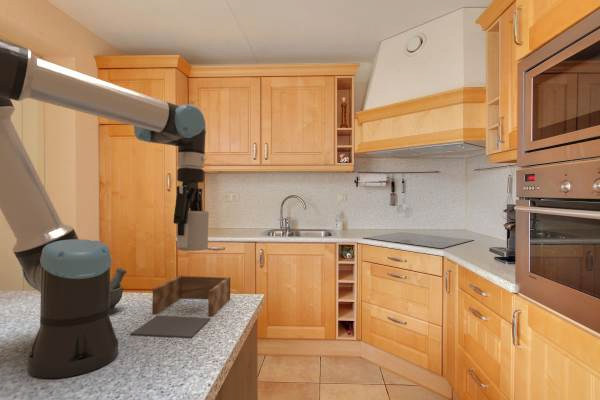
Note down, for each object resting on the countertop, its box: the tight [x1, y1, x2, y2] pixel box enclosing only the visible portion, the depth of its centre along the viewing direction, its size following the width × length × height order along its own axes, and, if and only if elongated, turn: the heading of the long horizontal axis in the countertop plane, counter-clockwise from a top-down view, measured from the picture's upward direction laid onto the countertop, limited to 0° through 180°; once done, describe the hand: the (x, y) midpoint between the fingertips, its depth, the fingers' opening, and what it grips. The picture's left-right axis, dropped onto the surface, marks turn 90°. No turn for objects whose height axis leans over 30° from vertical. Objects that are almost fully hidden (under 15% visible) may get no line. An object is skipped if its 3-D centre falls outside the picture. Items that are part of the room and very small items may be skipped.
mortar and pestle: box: [109, 267, 127, 315], centre depth 100 cm, size 11×9×12 cm
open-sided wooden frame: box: [151, 275, 231, 317], centre depth 107 cm, size 18×17×7 cm
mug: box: [176, 210, 210, 252], centre depth 103 cm, size 12×8×11 cm
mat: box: [129, 315, 211, 339], centre depth 89 cm, size 13×15×1 cm
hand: (188, 245), depth 102 cm, fingers closed on mug, 9 cm apart
